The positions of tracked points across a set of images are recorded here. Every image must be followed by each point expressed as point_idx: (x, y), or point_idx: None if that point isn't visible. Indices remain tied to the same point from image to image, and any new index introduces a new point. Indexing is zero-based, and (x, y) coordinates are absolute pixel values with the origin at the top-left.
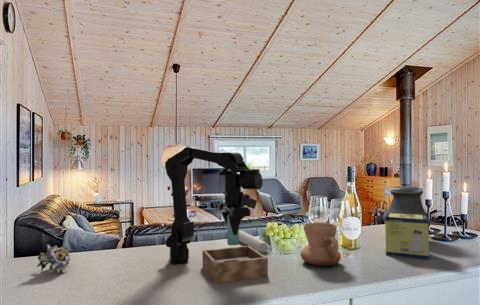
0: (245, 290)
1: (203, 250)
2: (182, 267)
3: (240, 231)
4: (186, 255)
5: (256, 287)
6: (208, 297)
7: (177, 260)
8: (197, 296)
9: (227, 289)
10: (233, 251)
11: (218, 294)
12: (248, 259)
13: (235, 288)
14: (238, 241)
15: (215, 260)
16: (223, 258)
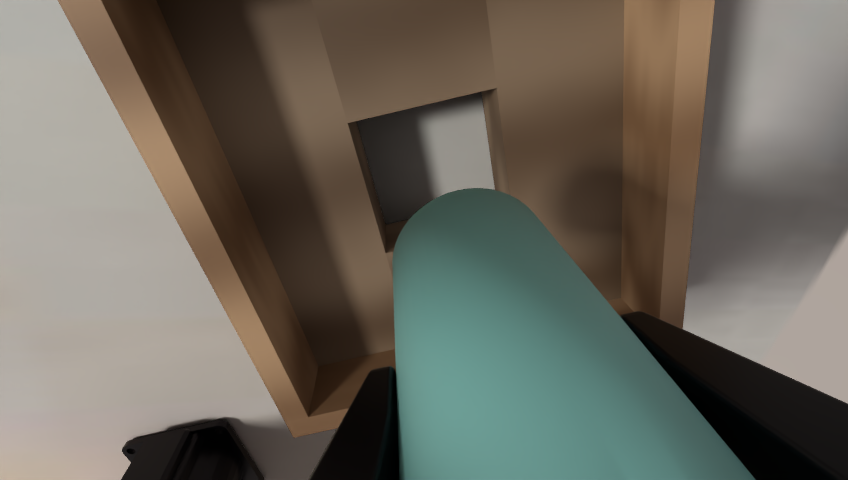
0: (787, 121)
1: (297, 432)
2: (314, 433)
3: None
4: (189, 463)
5: (782, 36)
6: (767, 307)
7: (240, 477)
8: (731, 347)
9: (721, 221)
10: (210, 175)
11: (759, 266)
12: (686, 74)
13: (729, 177)
14: (529, 214)
15: (356, 308)
16: (305, 252)
